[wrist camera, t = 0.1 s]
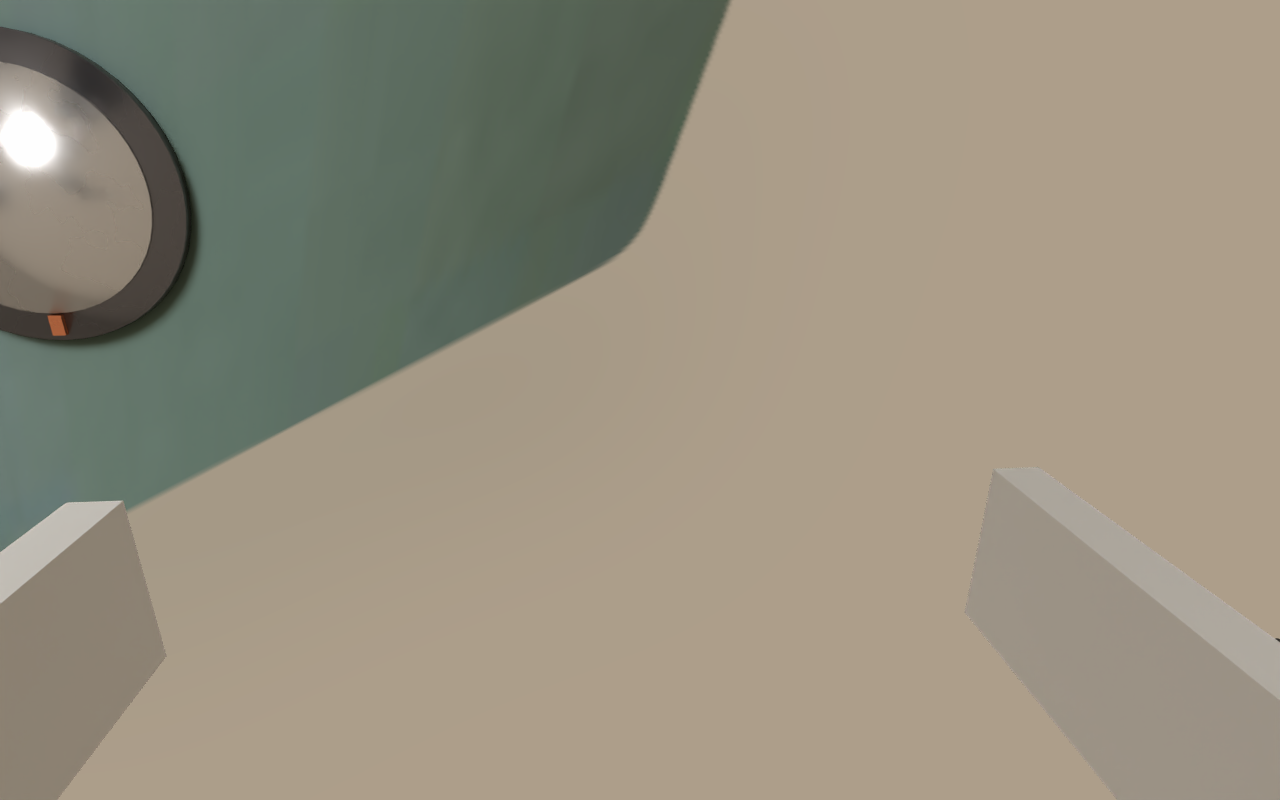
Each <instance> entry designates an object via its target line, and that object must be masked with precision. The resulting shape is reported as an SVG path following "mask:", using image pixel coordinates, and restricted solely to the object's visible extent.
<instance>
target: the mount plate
mask: <svg viewBox="0 0 1280 800" xmlns="http://www.w3.org/2000/svg"><path fill="white" fill-rule="evenodd" d="M190 236H191V208H190V201H189V194H188V190H187V186H186V182H185V179H184V175H183V172H182V169H181V167H180V164H179V162H178V159H177V157H176V155H175V152H174V150H173V149H172V147H171V145H170V143H169V141H168V139H167V138H166V136H165V134H164V132H163V131H162V129H161V128H160V127H159V125H158V124H157V122H156V121H155V119H154V118H153V117H152V115H151V114H150V113H149V111H148V110H147V109H146V108H145V107H144V106H143V105H142V103H141V102H140V101H139V100H138V99H137V98H136V96H135V95H134V94H132V93H131V92H130V91H129V90H128V89H127V88H126V87H125V86H124V85H123V84H122V83H121V82H120V81H119V80H118V79H116V78H115V77H114V76H112V75H111V74H110V73H108V72H107V71H106V70H104V69H103V68H102V67H100V66H99V65H98V64H96V63H95V62H93V61H91V60H90V59H88V58H86V57H85V56H83V55H81V54H80V53H78V52H77V51H74V50H72V49H70V48H68V47H66V46H64V45H62V44H60V43H57V42H55V41H53V40H50V39H47V38H44V37H41V36H38V35H35V34H32V33H28V32H23V31H19V30H14V29H9V28H4V27H0V330H3V331H7V332H11V333H14V334H18V335H22V336H27V337H33V338H40V339H51V340H72V339H84V338H89V337H94V336H99V335H103V334H106V333H108V332H111V331H114V330H117V329H120V328H122V327H124V326H126V325H128V324H130V323H132V322H134V321H136V320H137V319H139V318H141V317H143V316H144V315H145V314H147V313H148V312H149V311H151V310H152V309H153V308H155V307H156V306H157V305H158V304H159V303H160V302H161V301H162V300H163V299H164V297H165V296H166V295H167V294H168V293H169V291H170V290H171V288H172V287H173V285H174V284H175V283H176V281H177V279H178V277H179V275H180V273H181V271H182V269H183V266H184V263H185V260H186V257H187V253H188V250H189V244H190Z"/></svg>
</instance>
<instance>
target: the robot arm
mask: <svg viewBox="0 0 1280 800" xmlns="http://www.w3.org/2000/svg"><path fill="white" fill-rule="evenodd" d="M965 613H966V615H967V616H968V617H969V618H970V620H971V621H972V622H973V623H974V624H975V626H976V627H977V628H978V629H979V631H980V632H981V633H982V634H983V635H984V637H985V638H986V639H987V640H988V642H989V643H990V644H991V645H992V647H993V648H994V649H995V650H996V651H997V653H998V654H999V655H1000V656H1001V658H1002V659H1003V660H1004V661H1005V663H1006V664H1007V665H1008V666H1009V667H1010V669H1011V670H1012V671H1013V672H1014V674H1015V675H1016V676H1017V677H1018V678H1019V680H1020V681H1021V682H1022V683H1023V685H1024V686H1025V687H1026V688H1027V690H1028V691H1029V692H1030V693H1031V694H1032V696H1033V697H1034V698H1035V699H1036V701H1037V702H1038V703H1039V704H1040V706H1041V707H1042V708H1043V709H1044V710H1045V712H1046V713H1047V714H1048V715H1049V717H1050V718H1051V719H1052V720H1053V722H1054V723H1055V724H1056V725H1057V726H1058V728H1059V729H1060V730H1061V731H1062V733H1063V734H1064V735H1065V736H1066V737H1067V739H1068V740H1069V741H1070V742H1071V743H1072V745H1073V746H1074V747H1075V749H1076V750H1077V751H1078V752H1079V753H1080V755H1081V756H1082V757H1083V758H1084V760H1085V761H1086V762H1087V763H1088V765H1089V766H1090V767H1091V768H1092V769H1093V770H1094V772H1095V773H1096V774H1097V776H1098V777H1099V778H1100V779H1101V781H1102V782H1103V783H1104V784H1105V785H1106V787H1107V788H1108V789H1109V790H1110V792H1111V793H1112V794H1113V795H1114V797H1115V798H1116V799H1117V800H1280V639H1277V638H1276V639H1275V638H1273V637H1271V636H1270V635H1269V634H1268V633H1266V632H1265V631H1263V630H1262V629H1261V628H1259V627H1258V626H1257V625H1255V624H1254V623H1252V622H1251V621H1250V620H1248V619H1247V618H1246V617H1244V616H1243V615H1241V614H1240V613H1239V612H1237V611H1236V610H1235V609H1233V608H1232V607H1230V606H1229V605H1228V604H1226V603H1225V602H1224V601H1222V600H1221V599H1219V598H1218V597H1217V596H1215V595H1214V594H1213V593H1211V592H1210V591H1208V590H1207V589H1206V588H1204V587H1203V586H1202V585H1200V584H1199V583H1197V582H1196V581H1195V580H1193V579H1192V578H1190V577H1189V576H1188V575H1186V574H1185V573H1184V572H1182V571H1181V570H1179V569H1178V568H1177V567H1175V566H1174V565H1172V564H1171V563H1170V562H1168V561H1167V560H1166V559H1164V558H1163V557H1162V556H1160V555H1159V554H1157V553H1156V552H1155V551H1153V550H1152V549H1151V548H1149V547H1148V546H1146V545H1145V544H1143V543H1142V542H1141V541H1139V540H1138V539H1137V538H1135V537H1134V536H1133V535H1131V534H1130V533H1128V532H1127V531H1126V530H1124V529H1123V528H1122V527H1120V526H1119V525H1118V524H1116V523H1115V522H1113V521H1112V520H1111V519H1109V518H1108V517H1107V516H1105V515H1104V514H1102V513H1101V512H1100V511H1098V510H1097V509H1095V508H1094V507H1093V506H1091V505H1090V504H1089V503H1087V502H1086V501H1084V500H1083V499H1082V498H1080V497H1079V496H1077V495H1076V494H1075V493H1073V492H1072V491H1071V490H1069V489H1068V488H1067V487H1065V486H1064V485H1062V484H1061V483H1060V482H1058V481H1057V480H1056V479H1054V478H1052V477H1051V476H1050V475H1049V474H1047V473H1046V472H1044V471H1043V470H1042V469H1040V468H1038V467H1035V468H1034V467H1033V468H1007V469H993V473H992V478H991V484H990V488H989V494H988V498H987V503H986V508H985V513H984V518H983V523H982V528H981V533H980V538H979V543H978V548H977V553H976V558H975V563H974V569H973V574H972V579H971V583H970V589H969V594H968V599H967V603H966V608H965ZM165 657H166V653H165V649H164V646H163V642H162V638H161V635H160V631H159V628H158V624H157V620H156V617H155V613H154V610H153V606H152V603H151V599H150V595H149V592H148V588H147V584H146V581H145V577H144V574H143V570H142V567H141V563H140V559H139V556H138V552H137V549H136V545H135V541H134V538H133V534H132V531H131V527H130V523H129V520H128V516H127V513H126V509H125V506H124V502H123V501H101V502H73V503H65V504H64V505H63V506H61V507H60V508H59V509H57V510H56V511H55V512H53V513H52V514H51V515H49V516H48V517H47V518H45V519H44V520H43V521H41V522H40V523H39V524H37V525H36V526H35V527H33V528H32V529H31V530H29V531H28V532H27V533H25V534H24V535H23V536H21V537H20V538H19V539H17V540H16V541H15V542H13V543H12V544H11V545H9V546H8V547H7V548H5V549H4V550H3V551H1V552H0V800H57V799H58V798H59V797H60V795H61V794H62V793H63V791H64V790H65V789H66V788H67V786H68V785H69V784H70V782H71V781H72V780H73V778H74V777H75V776H76V774H77V773H78V772H79V770H80V769H81V768H82V766H83V765H84V764H85V763H86V761H87V760H88V759H89V757H90V756H91V755H92V753H93V752H94V751H95V749H96V748H97V747H98V745H99V744H100V743H101V741H102V740H103V739H104V738H105V736H106V735H107V734H108V732H109V731H110V730H111V728H112V727H113V726H114V724H115V723H116V722H117V720H118V719H119V718H120V716H121V715H122V714H123V713H124V711H125V710H126V709H127V707H128V706H129V705H130V703H131V702H132V701H133V699H134V698H135V697H136V695H137V694H138V693H139V691H140V690H141V689H142V688H143V686H144V685H145V684H146V682H147V681H148V680H149V678H150V677H151V676H152V674H153V673H154V672H155V670H156V669H157V668H158V666H159V665H160V664H161V662H162V661H163V660H164V659H165Z"/></svg>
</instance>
